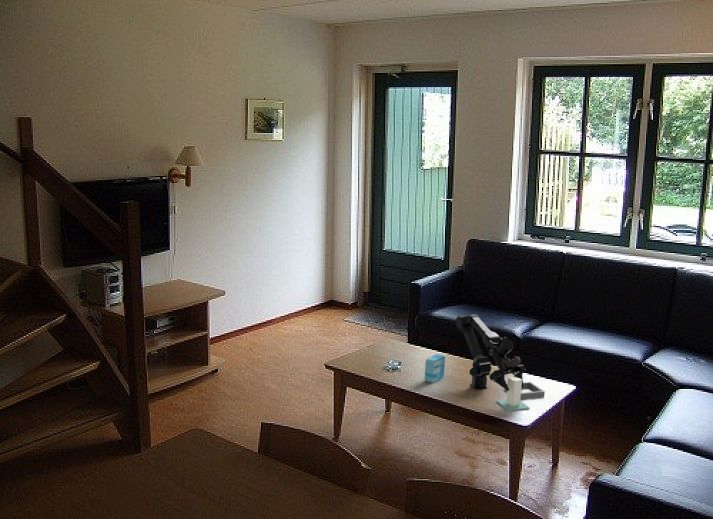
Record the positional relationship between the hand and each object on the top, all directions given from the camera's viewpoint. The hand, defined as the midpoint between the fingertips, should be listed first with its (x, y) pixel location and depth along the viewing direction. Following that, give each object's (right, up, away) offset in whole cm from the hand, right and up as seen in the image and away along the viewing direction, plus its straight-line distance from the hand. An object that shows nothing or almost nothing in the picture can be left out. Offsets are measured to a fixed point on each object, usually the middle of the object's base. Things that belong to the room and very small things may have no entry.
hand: (515, 388), depth 324 cm
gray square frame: (+9, -5, +19) cm, 21 cm away
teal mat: (-1, -8, +2) cm, 9 cm away
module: (-1, -7, +2) cm, 8 cm away
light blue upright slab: (-34, -1, +32) cm, 47 cm away
